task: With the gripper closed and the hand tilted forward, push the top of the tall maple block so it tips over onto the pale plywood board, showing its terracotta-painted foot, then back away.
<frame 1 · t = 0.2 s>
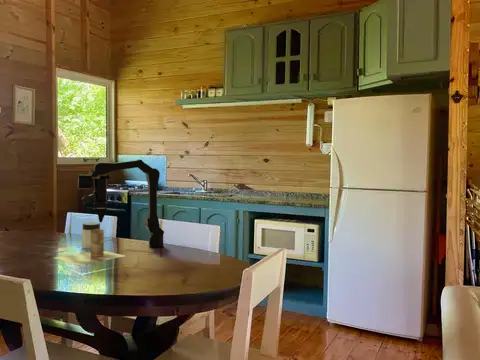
hand: (100, 221, 215), 14 cm above the table, tool pointing down, fingers open, 9 cm apart
board: (90, 258, 199), on the table
jar: (91, 248, 222), on the table
block: (97, 256, 200), point 1 cm above the table, touching board
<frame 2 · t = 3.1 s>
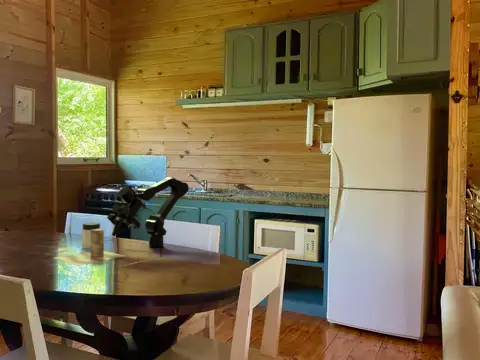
hand: (112, 235, 206), 9 cm above the table, tool tilted 45°, fingers closed
nothing on the table moved.
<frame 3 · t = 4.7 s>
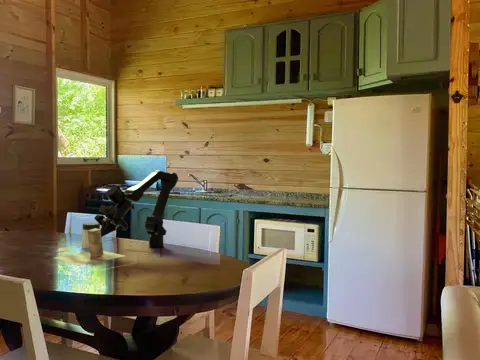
hand: (99, 236, 200), 9 cm above the table, tool tilted 45°, fingers closed
block: (97, 255, 200), point 1 cm above the table, tilted 8°, touching board
everything else where it was.
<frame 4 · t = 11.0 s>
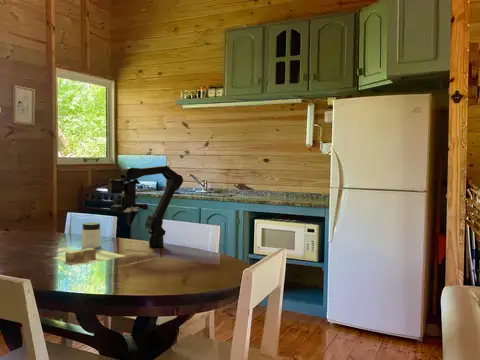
hand: (129, 225, 217), 12 cm above the table, tool pointing down, fingers closed
block: (93, 252, 198), point 3 cm above the table, tilted 90°, touching board
everything else where it was.
at the end: block tilted 90°; block inside the target area on the board (1.6 cm from its centre), point 2.6 cm above the board's base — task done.
